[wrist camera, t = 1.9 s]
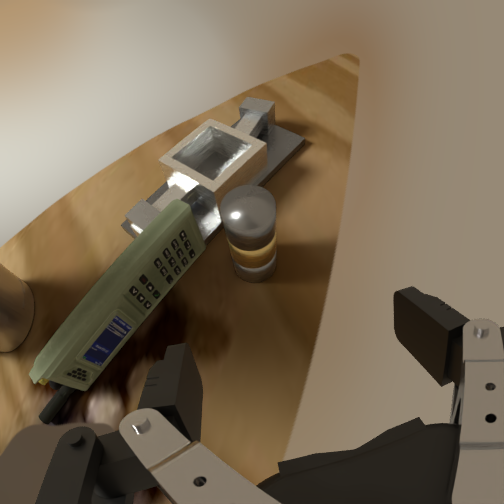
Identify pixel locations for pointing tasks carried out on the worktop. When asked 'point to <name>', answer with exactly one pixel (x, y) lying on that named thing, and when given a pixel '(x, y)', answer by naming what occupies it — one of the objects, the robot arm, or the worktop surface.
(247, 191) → the grey cylinder with band
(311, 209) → the worktop surface
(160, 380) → the robot arm
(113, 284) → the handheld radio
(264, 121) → the base
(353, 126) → the worktop surface
